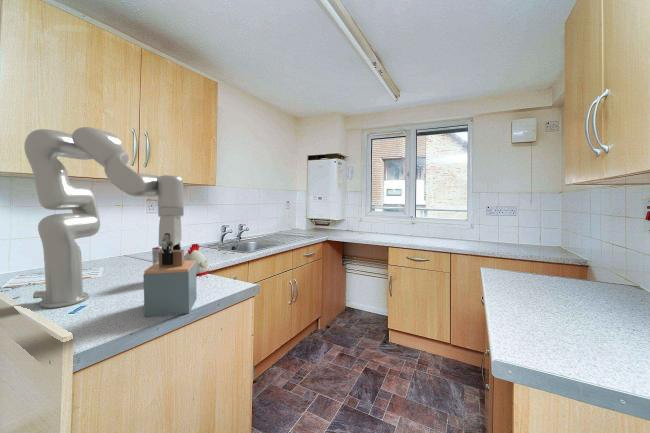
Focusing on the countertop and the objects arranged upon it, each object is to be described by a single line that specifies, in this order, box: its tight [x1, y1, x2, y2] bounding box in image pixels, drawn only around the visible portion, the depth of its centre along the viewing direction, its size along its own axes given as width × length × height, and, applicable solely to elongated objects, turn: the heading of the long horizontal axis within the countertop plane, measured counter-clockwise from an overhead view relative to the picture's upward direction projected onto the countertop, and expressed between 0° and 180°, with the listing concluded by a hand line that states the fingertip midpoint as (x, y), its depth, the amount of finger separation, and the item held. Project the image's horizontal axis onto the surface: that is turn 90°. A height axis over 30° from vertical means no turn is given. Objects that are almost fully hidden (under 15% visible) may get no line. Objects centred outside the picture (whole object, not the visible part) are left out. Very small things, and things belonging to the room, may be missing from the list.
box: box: [143, 263, 197, 318], centre depth 93 cm, size 13×13×14 cm
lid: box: [143, 249, 195, 274], centre depth 93 cm, size 13×13×8 cm
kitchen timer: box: [184, 243, 210, 278], centre depth 134 cm, size 14×14×15 cm
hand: (172, 261), depth 93 cm, fingers open, 9 cm apart
